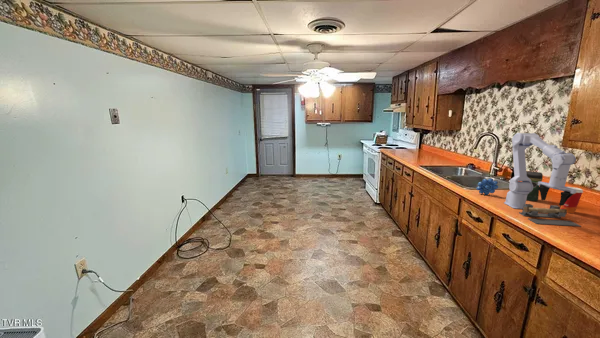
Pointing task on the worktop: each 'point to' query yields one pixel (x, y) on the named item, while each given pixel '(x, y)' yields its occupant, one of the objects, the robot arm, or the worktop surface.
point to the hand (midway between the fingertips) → (552, 202)
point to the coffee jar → (534, 185)
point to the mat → (554, 222)
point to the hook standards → (536, 214)
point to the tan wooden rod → (544, 210)
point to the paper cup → (573, 201)
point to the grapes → (487, 186)
